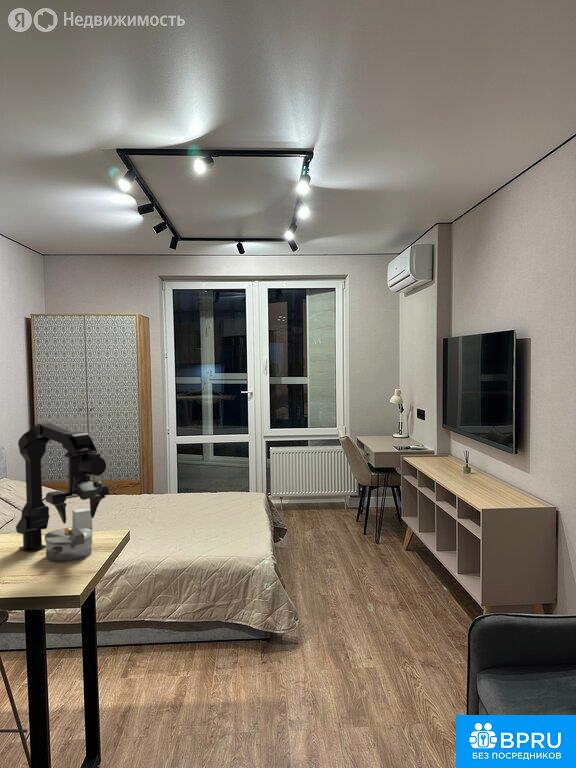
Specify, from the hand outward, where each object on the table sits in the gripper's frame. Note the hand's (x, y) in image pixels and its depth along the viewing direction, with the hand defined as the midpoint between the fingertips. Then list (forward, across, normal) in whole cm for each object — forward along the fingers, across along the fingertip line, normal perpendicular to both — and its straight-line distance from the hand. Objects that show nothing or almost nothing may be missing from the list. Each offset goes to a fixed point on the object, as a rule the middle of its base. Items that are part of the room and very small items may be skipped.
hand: (78, 520), depth 182 cm
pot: (+14, -1, +8) cm, 16 cm away
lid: (+8, 0, +6) cm, 10 cm away
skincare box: (+14, +10, +18) cm, 25 cm away
